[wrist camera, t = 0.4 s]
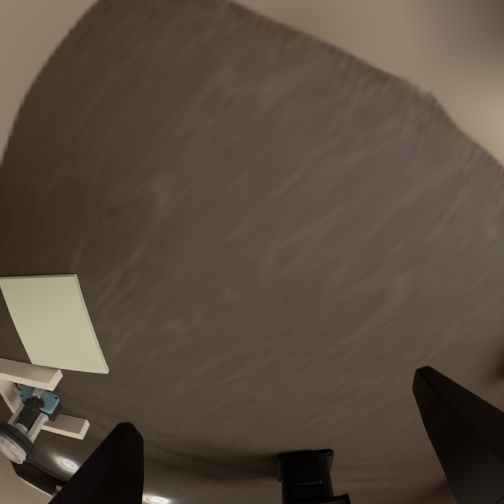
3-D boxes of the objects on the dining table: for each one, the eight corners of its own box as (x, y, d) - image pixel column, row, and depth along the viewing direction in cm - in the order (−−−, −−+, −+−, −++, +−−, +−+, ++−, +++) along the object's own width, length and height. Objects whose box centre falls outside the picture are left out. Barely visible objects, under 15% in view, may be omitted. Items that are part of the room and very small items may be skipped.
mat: (109, 370, 26) (107, 373, 26) (34, 361, 27) (32, 364, 26) (76, 273, 23) (73, 276, 22) (1, 277, 23) (-3, 279, 23)
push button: (24, 395, 29) (-11, 448, 20) (15, 366, 27) (-28, 421, 18) (66, 415, 29) (34, 475, 20) (59, 387, 28) (20, 451, 18)
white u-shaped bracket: (89, 424, 30) (82, 439, 27) (26, 409, 30) (19, 421, 28) (59, 368, 27) (48, 383, 24) (-4, 357, 27) (-14, 368, 25)
